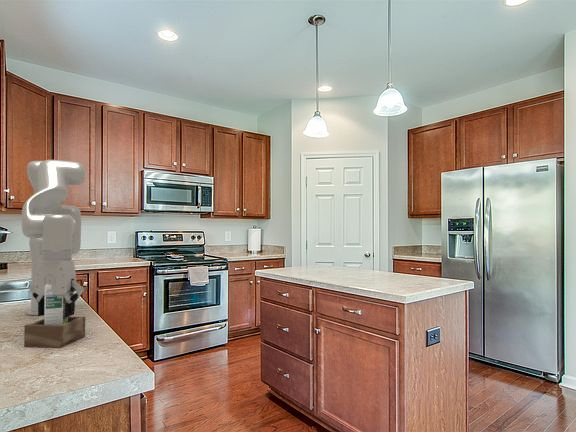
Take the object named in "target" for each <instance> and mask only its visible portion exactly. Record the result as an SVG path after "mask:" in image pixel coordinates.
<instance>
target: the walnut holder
mask: <svg viewBox="0 0 576 432" xmlns="http://www.w3.org/2000/svg"><path fill="white" fill-rule="evenodd" d="M23 327H24V333H23V334H24V335H23V336H24V337H23V338H24V339H23V340H24V341H23V346H24V348H46V349H47V348H48V349H62V348H63V347H65V346H69V344H71V343H74V342H76V341H78V340H80V339H83V338H85V337H86V316H72V315H71V316H69V317H68V322H67V323H64V324H62V325H44V318H43V319H40V320H37V321H35V322H30V323H29V324H25V325H24V326H23Z"/></svg>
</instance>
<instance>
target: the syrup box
mask: <svg viewBox="0 0 576 432" xmlns="http://www.w3.org/2000/svg"><path fill="white" fill-rule="evenodd" d="M51 286H52V285H45V294H44V315H43V316H44V318H43V319H44V325H62V324H64V323H67V322H68V317H65V303H67V301H66V299H65V297H64V295H63V296H55V295H52V289H51V288H52V287H51Z"/></svg>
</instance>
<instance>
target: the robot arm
mask: <svg viewBox="0 0 576 432" xmlns="http://www.w3.org/2000/svg"><path fill="white" fill-rule="evenodd" d="M26 173H27V177H28V180H29V182H30V185H31V187H32V189H33V194H32V195H31V196H30V197H29V198H28V199H27V200H26V201H25V202H24V204H23V206H22V210H21V231H22V234H23V236H24V237H25V238H28V239H29V240H28V241H29V242H28V244H29V252H30V258H31V263H30V265H31V278H30V279H31V282H30V283H31V284H30V285H31V286H30V287H29V291H30V308H28V309H26V311H25V314H26V315H28V316H29V315H30V316H38V317H43V316H44V294H45V285H52V286H51V287H52V288H51V289H52V295H55V296H63V295H64V297H65V299H66V301H67V303H65V317H69V316H71V317H72V316H74V315H75V311H76V310H75V309H76V308H75V307H76V302H77V301H78V299H79V298H80V297H81V295H82V293H83V292H84V290H85V288H84V287H83V286H82V285H81V284H79V283H78V282H77V275H76V274H77V273H76V267H75V262H74V260H72V258H73V255H76V254H78V253H79V252H80V250H81V247H82V246H81V243H82V213H81V209H80V208H79V207H78V206H76V205H72V204H71V205H69V204H68V205H67V204H61V203H63V202H65V200H66V199H67V198H68V196H69V193H68V186H81V185H83V184H84V182H85V179H86V170H85V167H84V165H83V164H82V163H81V162H78V161H71V160H70V161H69V160H62V159H61V160H59V159H46V160H32V161H30V162H28V163H27V165H26Z"/></svg>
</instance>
